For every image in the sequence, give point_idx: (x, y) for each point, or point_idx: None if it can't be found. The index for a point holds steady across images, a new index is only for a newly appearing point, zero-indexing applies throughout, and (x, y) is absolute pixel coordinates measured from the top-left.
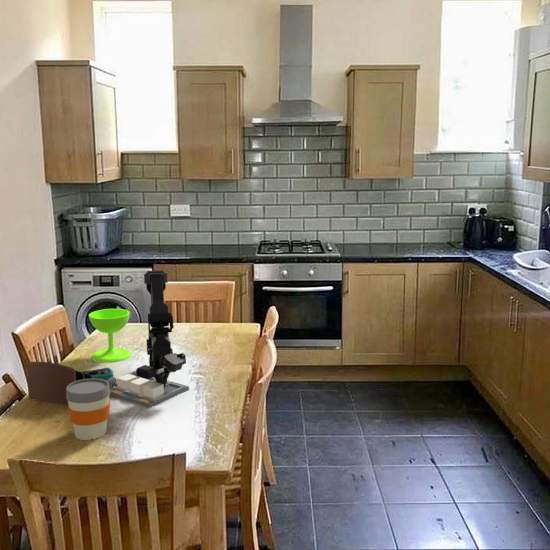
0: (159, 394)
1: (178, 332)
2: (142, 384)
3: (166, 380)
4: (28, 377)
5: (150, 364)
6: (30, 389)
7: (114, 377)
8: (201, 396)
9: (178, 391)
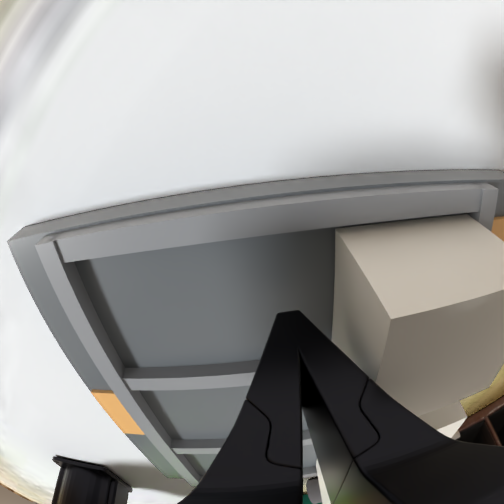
0: (413, 238)
1: (12, 483)
2: (436, 421)
3: (265, 392)
4: None
5: (124, 499)
6: None
7: (313, 500)
8: (26, 20)
9: (131, 214)
